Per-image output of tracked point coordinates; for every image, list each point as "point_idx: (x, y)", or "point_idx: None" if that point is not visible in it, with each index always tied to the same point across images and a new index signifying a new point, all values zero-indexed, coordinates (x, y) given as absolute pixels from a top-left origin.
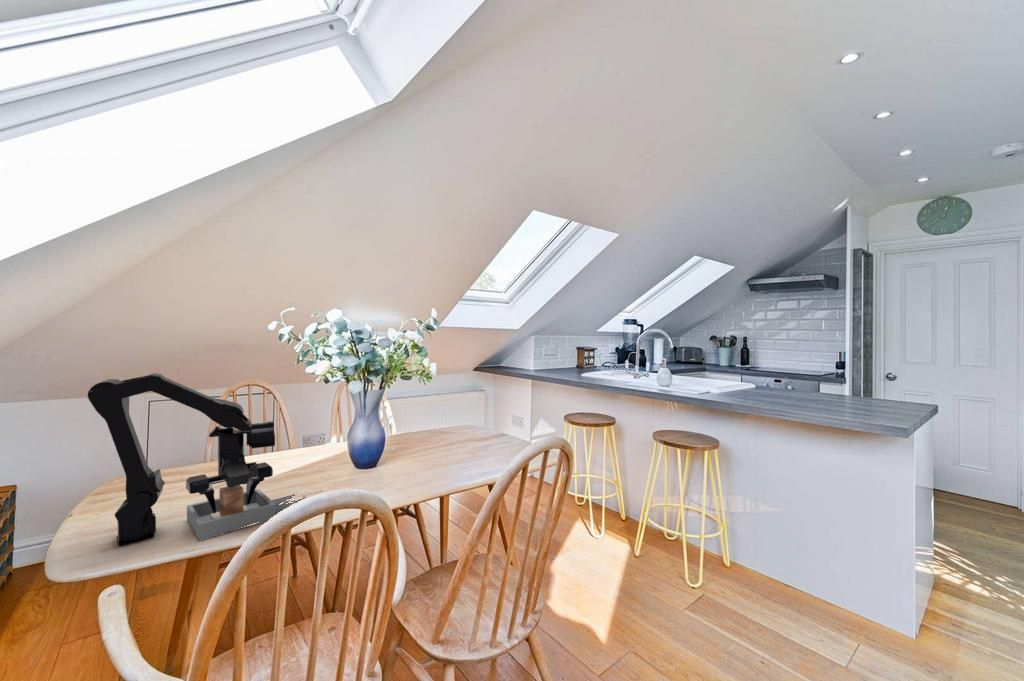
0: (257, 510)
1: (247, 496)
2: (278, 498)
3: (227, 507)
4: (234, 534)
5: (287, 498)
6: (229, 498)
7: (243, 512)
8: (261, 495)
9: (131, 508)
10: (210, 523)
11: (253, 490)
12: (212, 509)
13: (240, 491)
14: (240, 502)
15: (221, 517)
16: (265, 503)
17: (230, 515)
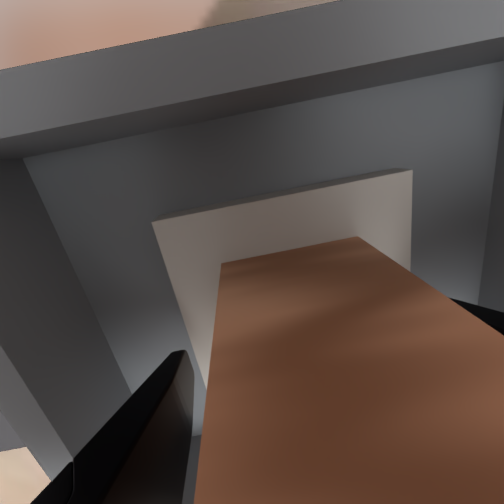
0: (49, 72)
1: (170, 431)
2: (22, 444)
3: (377, 283)
4: (293, 3)
5: None
6: (425, 358)
7: (219, 37)
8: (65, 451)
9: None
10: None
11: (46, 500)
12: (497, 311)
13: (259, 489)
14: (247, 321)
15: (482, 28)
16: (29, 315)
17: (380, 25)
